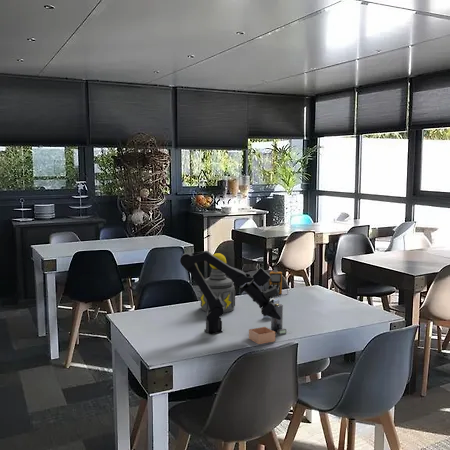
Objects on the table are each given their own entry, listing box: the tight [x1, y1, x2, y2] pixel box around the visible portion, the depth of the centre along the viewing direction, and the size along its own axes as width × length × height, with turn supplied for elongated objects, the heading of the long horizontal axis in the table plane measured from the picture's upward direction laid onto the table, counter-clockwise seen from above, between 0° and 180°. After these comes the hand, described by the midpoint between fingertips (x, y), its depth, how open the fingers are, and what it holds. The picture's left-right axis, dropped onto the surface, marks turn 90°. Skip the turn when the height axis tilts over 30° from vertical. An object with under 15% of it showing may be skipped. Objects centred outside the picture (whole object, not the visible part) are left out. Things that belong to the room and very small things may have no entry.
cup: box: [248, 326, 276, 345], centre depth 211 cm, size 8×8×4 cm
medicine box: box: [262, 297, 280, 319], centre depth 247 cm, size 8×4×9 cm, turn 141°
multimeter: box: [263, 260, 289, 296], centre depth 293 cm, size 15×10×20 cm
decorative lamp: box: [200, 252, 236, 314], centre depth 262 cm, size 19×19×30 cm
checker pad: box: [269, 327, 293, 337], centre depth 223 cm, size 10×10×2 cm
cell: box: [270, 303, 284, 333], centre depth 222 cm, size 5×5×12 cm
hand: (279, 317), depth 222 cm, fingers closed on cell, 5 cm apart
